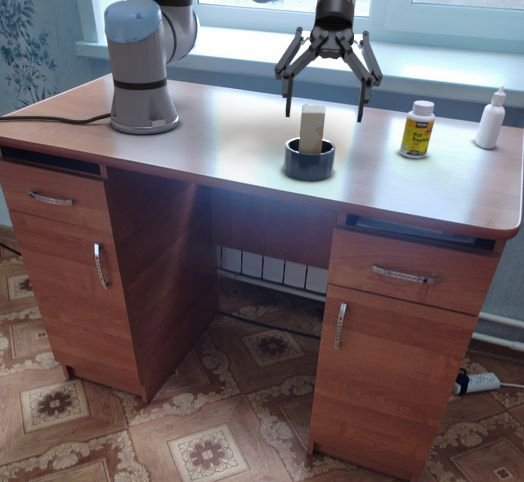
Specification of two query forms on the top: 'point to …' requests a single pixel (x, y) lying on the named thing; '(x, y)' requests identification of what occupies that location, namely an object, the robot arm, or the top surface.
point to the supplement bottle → (418, 130)
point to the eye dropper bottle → (491, 121)
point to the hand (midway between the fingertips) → (323, 116)
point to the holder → (309, 162)
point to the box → (311, 129)
